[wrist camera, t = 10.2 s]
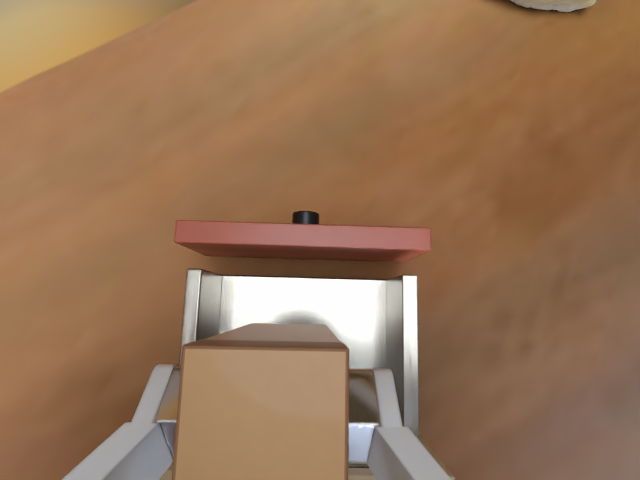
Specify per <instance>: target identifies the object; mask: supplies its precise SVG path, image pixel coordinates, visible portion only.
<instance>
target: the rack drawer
mask: <svg viewBox="0 0 640 480" xmlns="http://www.w3.org/2000/svg"><path fill="white" fill-rule="evenodd" d="M174 242H175V243H178V244H180V245H182V246H185V247H187V248H189V249H192V250H194V251H196V252H199V253H201V254H203V255H206V256H236V257H269V258H303V259H337V260H370V261H404V262H405V261H407V260H409V259H412V258H414V257H416V256H418V255H421V254H423V253H425V252H428V251H430V250H431V228H418V227H386V226H354V225H321V224H319V214H318V213H316V212H311V211H298V212H294V213H293V219H292V224H289V223H257V222H224V221H192V220H177V221H176V229H175V240H174ZM251 323H277V324H325V325H327V326H328V328H329V329H330V330H331V331H332V332H333V333H334V334H335V336H336V337H337V338H338V339H339V340H340V341H341V342H343V343H344V344H345V345H346V346H347V347H348V348H349V368H372V369H391V371H392V373H393V378H394V383H395V388H396V394H397V399H398V404H399V410H400V415H401V421H402V426H403V427H409V429H410V430H411V431H412V432H413V433H414V435H415V436H416V437H417V438H418V439H419V441H420V436H419V357H418V277H417V275H401V276H398V277H394V278H391V279H387V280H382V279H348V278H314V277H279V276H245V275H220V274H217V273H213V272H210V271H206V270H203V269H187V276H186V288H185V300H184V312H183V324H182V336H181V348H180V360H179V365H181V356H182V347H183V345H185V344H188V343H191V342H194V341H197V340H204V339H207V338H210V337H212V336H215V335H218V334H221V333H224V332H227V331H230V330H233V329H236V328H239V327H242V326H245V325H248V324H251ZM172 464H173V463H172ZM348 468H369V466H368V465H367V462H352V461H348Z"/></svg>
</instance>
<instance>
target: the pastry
mask: <svg viewBox="0 0 640 480" xmlns="http://www.w3.org/2000/svg"><path fill="white" fill-rule="evenodd" d="M510 1H512V2H515V3H516V4H517V5H519V6H523V7H526V8H529V7H531V8H535V9H543V10H551V9H554V10H558V11H561V12H570V11H574V10H577V9H582V8H585V7H589V6H591V5H593V4H594V3H595V2H596V1H597V0H510Z"/></svg>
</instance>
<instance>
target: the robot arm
mask: <svg viewBox="0 0 640 480" xmlns="http://www.w3.org/2000/svg"><path fill="white" fill-rule="evenodd" d="M180 369H181V365H177V364H157V365H156V367H155V368H154V369H153V371H152V373H151V375H150V378H149V380H148V383H147V385H146V387H145V390H144V392H143V395H142V397H141V400H140V402H139V404H138V407H137V409H136V412H135V414H134V416H133V419H132V421H131V422H125V423H124V424H123V425H122V426H121V427H119V428H118V429H117V430H116V431H115V432H114V433H113V434H112V435H111V436H109V437H108V438H107V439H106V440H105V441H104V442H103V443H102V444H101V445H99V446H98V447H97V448H96V449H95V450H94V451H93V452H92V453H90V454H89V455H88V456H87V457H86V458H85V459H84V460H83V461H82V462H80V463H79V464H78V465H77V466H76V467H75V468H74V469H73V470H71V471H70V472H69V473H68V474H67V475H66V476H65V477H64V478H63V479H61V480H159V479H160V478H161V477H162V475H163V474H164V473H165V472H166V470H167V469H168V468H169V467H170V465H171V464H172V463H173V458H174V445H175V432H176V419H177V407H178V394H179V381H180ZM348 461H352V462H367V465H368V466H369V468H370V470H371V471H372V473H373V475H374V476H375V478H376V480H451V478H450V477H449V476H448V475H447V474H446V472H445V471H444V470H443V469H442V467H441V466H440V465H439V464H438V463H437V461H436V460H435V459H434V458H433V457H432V455H431V454H430V453H429V452H428V450H427V449H426V448H425V447H424V446H423V444H422V443H421V442H420V441H419V439H418V438H417V437H416V436H415V435H414V433H413V432H412V431H411V430H410V429H409V427H403V426H402V421H401V415H400V410H399V404H398V399H397V394H396V388H395V383H394V378H393V373H392V371H391V369H372V368H349V455H348Z"/></svg>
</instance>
